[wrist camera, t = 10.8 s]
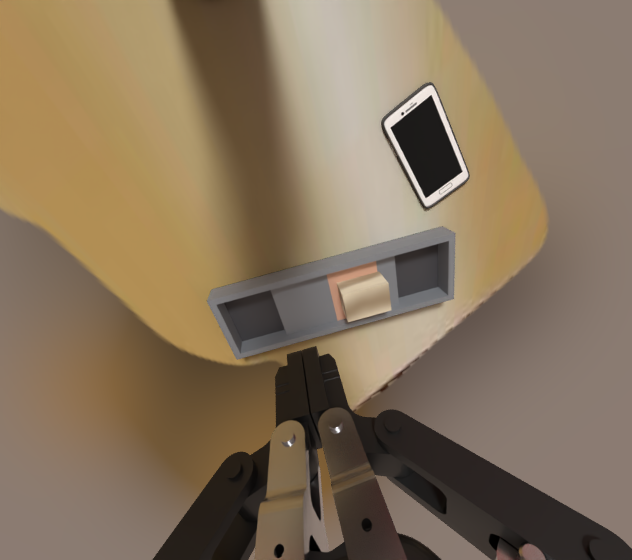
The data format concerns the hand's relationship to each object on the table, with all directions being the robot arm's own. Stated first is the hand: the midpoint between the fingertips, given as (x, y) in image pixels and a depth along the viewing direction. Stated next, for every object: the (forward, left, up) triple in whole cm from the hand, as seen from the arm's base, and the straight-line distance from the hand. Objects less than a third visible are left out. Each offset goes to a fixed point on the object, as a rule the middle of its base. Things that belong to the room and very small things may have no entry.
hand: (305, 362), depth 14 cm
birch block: (+14, +9, -27) cm, 32 cm away
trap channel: (+14, +5, -29) cm, 33 cm away
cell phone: (-4, +22, -30) cm, 37 cm away
